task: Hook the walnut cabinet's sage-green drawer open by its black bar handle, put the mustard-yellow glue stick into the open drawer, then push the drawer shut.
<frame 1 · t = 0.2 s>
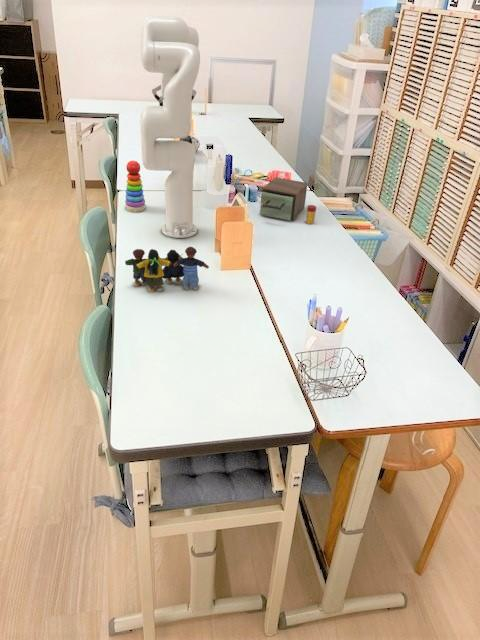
hand: (174, 113, 206), 31 cm above the table, tool pointing down, fingers open, 9 cm apart
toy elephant: (226, 190, 225), on the table
doll family: (167, 287, 152), on the table
drawer: (279, 202, 200), point 5 cm above the table, slide at 1.0 cm
stacking toy: (135, 209, 201), on the table
paint bucket: (186, 157, 264), on the table
cabinet: (282, 211, 207), on the table
glue stick: (309, 222, 199), on the table
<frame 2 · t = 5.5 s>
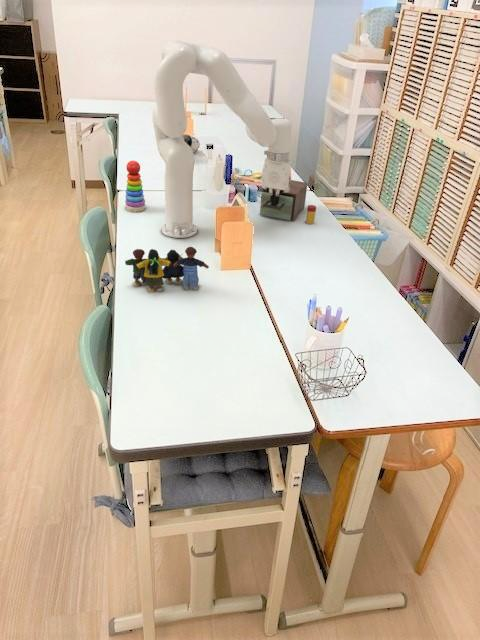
hand: (274, 205, 193), 7 cm above the table, tool pointing down, fingers closed
drawer: (279, 203, 200), point 5 cm above the table, slide at 1.1 cm, touching gripper
everything else where it was.
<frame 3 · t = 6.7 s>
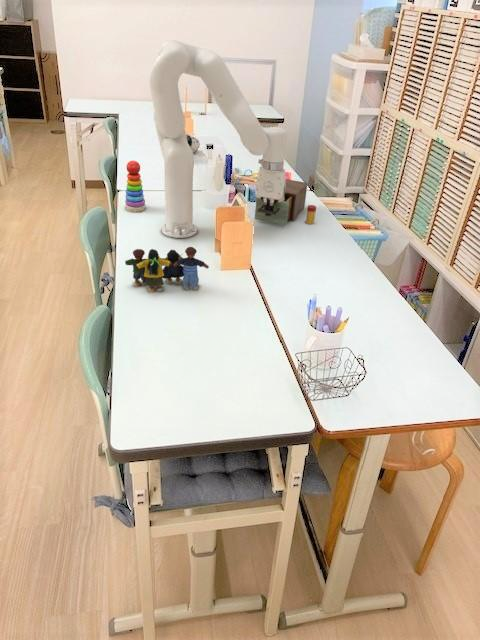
hand: (268, 214, 190), 5 cm above the table, tool pointing down, fingers closed
drawer: (274, 207, 196), point 5 cm above the table, slide at 6.6 cm, touching gripper
everything else where it was.
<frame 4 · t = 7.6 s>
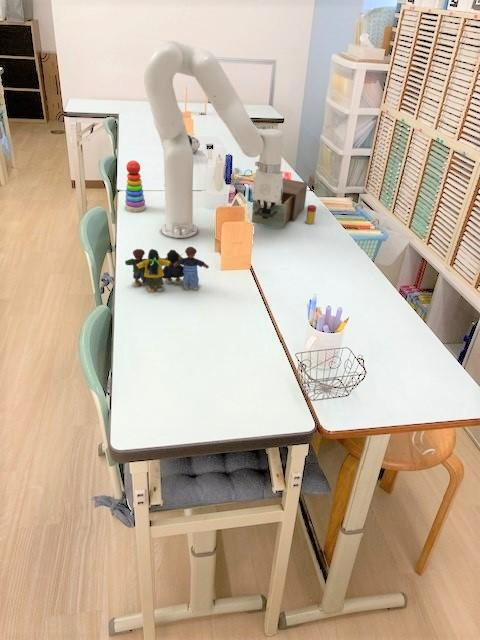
hand: (265, 217, 187), 5 cm above the table, tool pointing down, fingers closed
drawer: (272, 210, 193), point 5 cm above the table, slide at 9.8 cm, touching gripper
everything else where it was.
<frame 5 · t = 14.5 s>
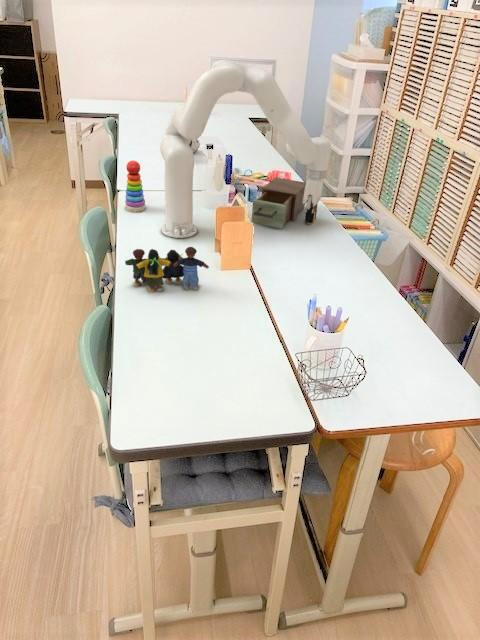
hand: (310, 220, 198), 1 cm above the table, tool pointing down, fingers closed on glue stick, 3 cm apart
drawer: (271, 210, 193), point 5 cm above the table, slide at 10.1 cm
glue stick: (309, 222, 199), on the table, touching gripper
everything else where it was.
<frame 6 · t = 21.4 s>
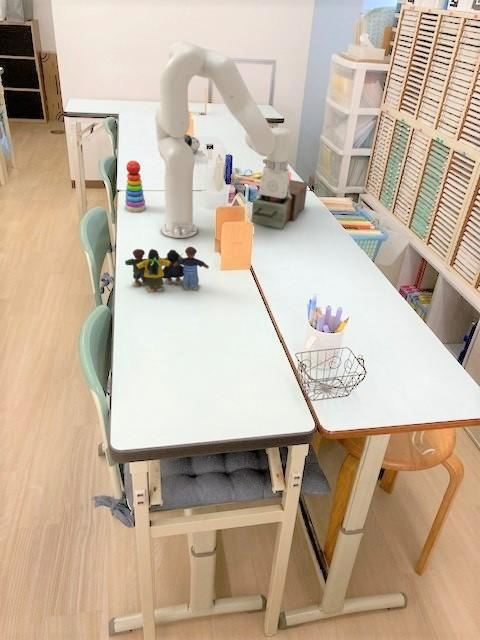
hand: (272, 212, 194), 4 cm above the table, tool pointing down, fingers closed on glue stick, 3 cm apart
glue stick: (272, 215, 195), point 3 cm above the table, touching gripper
everything else where it was.
when the fingers open (4 cm above the table, at t = 24.4 s): glue stick stays where it is, resting on drawer.
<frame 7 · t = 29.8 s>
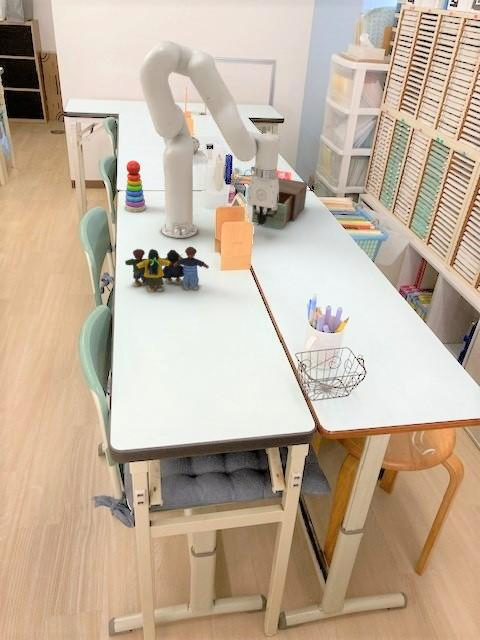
hand: (261, 223, 185), 4 cm above the table, tool pointing down, fingers closed
drawer: (272, 210, 193), point 5 cm above the table, slide at 9.6 cm, touching glue stick, gripper
glue stick: (272, 217, 196), point 2 cm above the table, touching drawer
everything else where it was.
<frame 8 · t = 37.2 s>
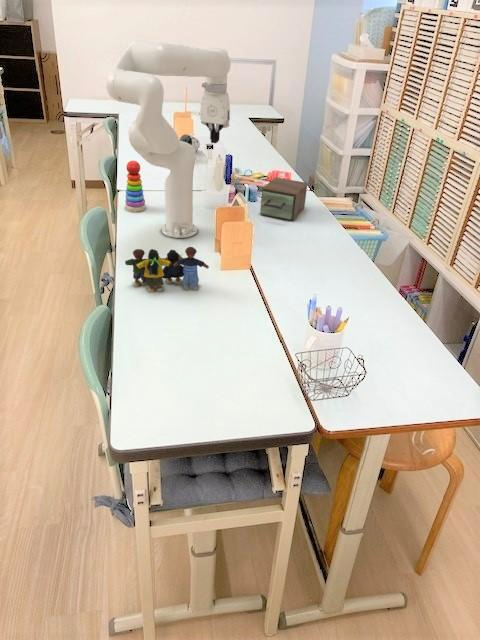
hand: (214, 142, 190), 26 cm above the table, tool pointing down, fingers closed
drawer: (280, 202, 201), point 5 cm above the table, slide at 0.0 cm, touching cabinet, glue stick
glue stick: (280, 209, 203), point 2 cm above the table, touching drawer
everything else where it was.
at the end: drawer pulled out 10.2 cm at the most during the clip, back to where it started at the end; glue stick inside the target area in the cabinet (3.6 cm from its centre), point 2.0 cm above the cabinet's base; drawer slide at 0.0 cm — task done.
